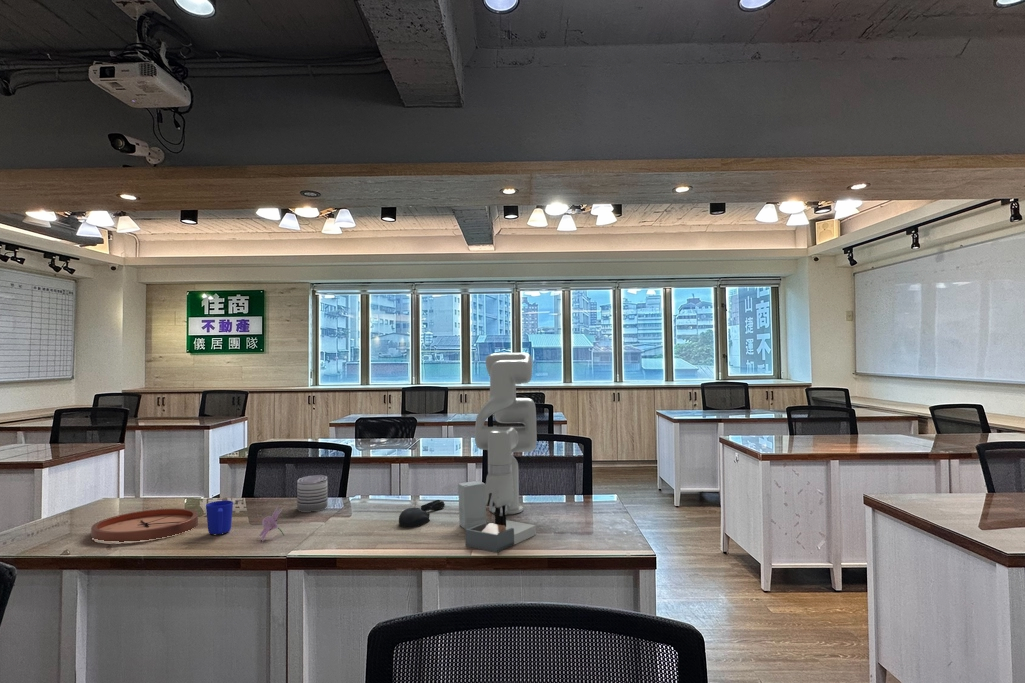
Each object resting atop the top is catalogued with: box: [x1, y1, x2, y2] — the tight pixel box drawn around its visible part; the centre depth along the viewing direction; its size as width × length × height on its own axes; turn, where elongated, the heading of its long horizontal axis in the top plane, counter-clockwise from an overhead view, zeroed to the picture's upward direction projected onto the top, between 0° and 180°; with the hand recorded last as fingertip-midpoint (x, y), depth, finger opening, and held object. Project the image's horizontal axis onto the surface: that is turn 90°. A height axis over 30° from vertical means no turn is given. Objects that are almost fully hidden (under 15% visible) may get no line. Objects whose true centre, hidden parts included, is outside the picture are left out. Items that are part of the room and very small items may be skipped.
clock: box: [90, 507, 199, 542], centre depth 206 cm, size 31×4×31 cm
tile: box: [482, 522, 506, 534], centre depth 185 cm, size 6×6×2 cm
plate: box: [506, 519, 537, 546], centre depth 192 cm, size 12×12×3 cm
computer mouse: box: [398, 499, 446, 529], centre depth 219 cm, size 9×32×6 cm, turn 167°
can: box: [296, 474, 329, 513], centre depth 233 cm, size 11×11×12 cm
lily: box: [258, 506, 285, 542], centre depth 195 cm, size 12×12×10 cm
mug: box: [205, 500, 234, 535], centre depth 199 cm, size 8×12×10 cm
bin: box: [464, 522, 514, 554], centre depth 183 cm, size 12×9×5 cm
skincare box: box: [457, 480, 487, 530], centre depth 205 cm, size 8×6×15 cm
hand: (500, 527), depth 188 cm, fingers closed
